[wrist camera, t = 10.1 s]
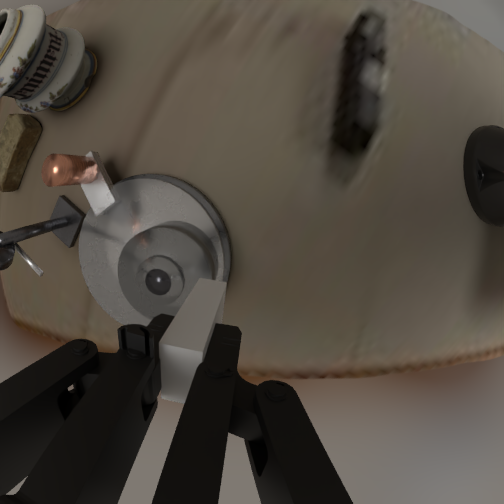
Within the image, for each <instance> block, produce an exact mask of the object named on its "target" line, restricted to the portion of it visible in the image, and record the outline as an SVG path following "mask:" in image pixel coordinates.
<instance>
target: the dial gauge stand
mask: <svg viewBox="0 0 504 504" xmlns="http://www.w3.org/2000/svg"><path fill="white" fill-rule="evenodd" d="M85 217H86V215H85V214H84V213H83V212H82V211H81V210H80V209H79V208H77V207H76V206H75V205H74V204H73V203H72V202H71V201H70V200H69V199H67V198H66V197H65V196H64V195H62V196H59V198H58V201H57V203H56V206H55V208H54V211H53V213H52V216H51V218H50V220H48V221H44V222H40V223H36V224H33V225H29V226H25V227H22V228H18V229H15V230H11V231H8V232H5V233H3V232H1V231H0V270H4V269H6V268H8V267H9V266H10V265H11V264H12V262H13V257H14V253H15V249H16V250H17V252H18V253H19V254H20V255H21V256H22V257H23V259H24V260H25V261H26V262H27V263H28V264H29V265H30V266H31V267H32V268H33V270H34V271H35V272H36V273H37V274H38V275H39V276H40V277H41V276H42V275H43V271H42V270H41V269H40V268H39V267H38V266H37V265H36V264H35V263H34V262H33V261H32V259H31V258H30V257H29V256H28V255H27V254H26V253H25V252H24V251H23V249H22V248H21V247H20V246H19V245H18V244H17V242H20V241H23V240H26V239H29V238H32V237H35V236H38V235H41V234H44V233H47V232H50V231H52V232H53V233H54V234H55V235H56V236H57V237H58V238H59V239H60V240H61V241H62V242H63V243H64V244H66V245H67V246H68V247H69V248H70V247H73V246H74V243H75V241H76V239H77V236H78V234H79V232H80V229H81V227H82V224H83V221H84V219H85ZM14 243H15V244H14Z"/></svg>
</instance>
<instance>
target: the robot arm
mask: <svg viewBox="0 0 504 504" xmlns="http://www.w3.org/2000/svg"><path fill="white" fill-rule="evenodd" d="M464 176H465V183H466V189H467V193H468V196H469V199H470V202H471V204H472V206H473V208H474V210H475V212H476V213H477V215H478V216H479V217H480V218H481V219H482V220H483V221H484V222H486V223H488V224H492V225H495V226H500V227H503V226H504V129H503V128H501V127H499V126H494V125H489V126H483V127H479V128H477V129H476V130H475V131H474V132H473V133H472V134H471V136H470V138H469V140H468V142H467V145H466V150H465V156H464ZM226 286H227V282H221V281H215V280H209V279H203V278H199V280H198V281H197V283H196V284H195V286H194V288H193V289H192V291H191V292H190V294H189V295H188V297H187V298H186V300H185V302H184V303H183V305H182V306H181V308H180V309H179V311H178V313H177V314H176V316H172V315H167V314H163V313H161V314H159V315H157V316H155V317H154V318H153V319H152V320H151V322H150V323H149V324H148V326H147V327H146V326H144V325H140V324H127V325H124V326H121V327H120V328H119V329H118V339H119V348H120V349H119V350H118V351H117V353H104V352H98V349H97V346H96V344H95V343H93V342H92V341H90V340H87V339H75V340H72V341H70V342H68V343H66V344H65V345H63V346H61V347H60V348H58V349H56V350H55V351H53V352H51V353H50V354H48V355H47V356H45V357H43V358H41V359H40V360H38V361H36V362H35V363H33V364H31V365H30V366H28V367H26V368H25V369H23V370H21V371H20V372H18V373H16V374H15V375H13V376H12V377H10V378H9V379H7V380H5V381H3V382H2V383H0V504H118V501H119V498H120V496H121V493H122V491H123V488H124V486H125V483H126V481H127V478H128V476H129V473H130V471H131V468H132V466H133V464H134V461H135V459H136V456H137V454H138V452H139V449H140V447H141V444H142V442H143V440H144V437H145V435H146V432H147V430H148V427H149V425H150V423H151V421H152V418H153V416H154V414H155V411H156V409H157V405H158V401H157V396H158V394H159V392H160V390H161V398H163V399H166V400H170V401H174V402H179V403H184V407H183V410H182V413H181V416H180V419H179V422H178V425H177V427H176V431H175V434H174V437H173V439H172V443H171V445H170V449H169V452H168V455H167V458H166V461H165V464H164V467H163V470H162V473H161V476H160V479H159V482H158V485H157V489H156V491H155V495H154V498H153V501H152V504H218V499H219V492H220V486H221V478H222V472H223V465H224V458H225V451H226V444H227V437H228V432H229V433H231V434H234V435H236V436H239V437H241V438H244V439H245V440H244V441H245V445H246V449H247V453H248V457H249V461H250V464H251V469H252V472H253V476H254V480H255V483H256V487H257V490H258V494H259V497H260V501H261V504H353V502H352V500H351V498H350V496H349V495H348V493H347V491H346V489H345V487H344V485H343V483H342V481H341V479H340V478H339V476H338V474H337V472H336V470H335V468H334V466H333V464H332V462H331V460H330V458H329V457H328V455H327V452H326V451H325V449H324V447H323V445H322V443H321V441H320V439H319V437H318V435H317V433H316V431H315V429H314V427H313V425H312V423H311V421H310V419H309V417H308V415H307V413H306V411H305V409H304V407H303V405H302V403H301V401H300V399H299V397H298V395H297V393H296V391H295V390H294V389H293V387H291V386H290V385H288V384H287V383H284V382H281V381H275V380H269V381H264V382H263V383H261V384H259V385H258V386H257V385H254V384H251V383H249V382H247V381H245V380H244V379H242V378H241V376H240V375H239V373H238V371H237V364H238V357H239V350H240V343H241V335H242V333H241V331H240V329H239V328H238V327H237V326H231V325H224V324H222V318H223V310H224V302H225V294H226ZM72 384H73V387H74V389H72V390H70V391H68V387H69V386H71V385H72ZM27 476H28V477H27ZM25 477H27V478H26V480H25V482H24V483H23V485H22V486H21V488H20V490H19V491H18V492H17V493H16V494H14V495H6V493H8V492H9V491H10V490H11V489H13V488H14V487H15V486H16V485H17V484H18V483H20V482H21V481H22V480H23V479H24V478H25Z"/></svg>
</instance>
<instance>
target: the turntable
mask: <svg viewBox="0 0 504 504" xmlns="http://www.w3.org/2000/svg"><path fill="white" fill-rule="evenodd" d="M42 179H43V181H44V183H45V184H46V185H47V186H50V187H52V186H64V185H78V184H81V186H82V189H83V191H84V193H85V195H86V197H87V199H88V201H89V203H90V205H91V207H90V209H89V211H88V213H87V214H86V217H85V219H84V221H83V224H82V228H81V231H80V238H79V260H80V265H81V270H82V273H83V276H84V279H85V282H86V284H87V286H88V288H89V290H90V292H91V294H92V295H93V297H94V298H95V300H96V301H97V302H98V304H99V305H100V306H101V307H102V308H103V309H104V310H105V311H106V312H107V313H108V314H109V315H110V316H111V317H113V318H114V319H115V320H117V321H118V322H120V323H121V324H123V325H127V324H140V325H144V326H146V327H147V326H148V324H149V323H150V322H151V320H150V319H148V318H146V317H145V316H143V315H142V314H140V313H139V312H138V311H136V310H135V309H134V308H133V307H132V306H131V305H130V303H129V302H128V301H127V299H126V298H125V296H124V294H123V292H122V290H121V287H120V284H119V280H118V261H119V257H120V254H121V252H122V249H123V248H124V246H125V245H126V243H127V242H128V241H129V240H130V239H131V238H132V237H133V236H135V235H136V234H138V233H140V232H142V231H144V230H147V229H149V228H151V227H153V226H156V225H158V224H160V223H163V222H167V221H174V220H175V221H183V222H187V223H190V224H192V225H194V226H196V227H198V228H199V229H201V230H202V231H203V232H204V233H205V234H206V235H207V236H208V237H209V238H210V240H211V241H212V243H213V245H214V247H215V249H216V252H217V256H218V263H219V267H218V275H217V278H216V281H221V282H222V281H223V276H224V269H225V256H224V248H223V243H222V239H221V236H220V233H219V230H218V228H217V226H216V224H215V222H214V220H213V218H212V217H211V215H210V214H209V212H208V211H207V209H206V208H205V207H204V206H203V205H202V204H201V202H200V201H199V200H197V199H196V198H195V197H194V196H193V195H192V194H190V193H189V192H187V191H186V190H184V189H183V188H181V187H179V186H177V185H175V184H173V183H170V182H167V181H164V180H158V179H132V180H127V181H124V182H121V183H119V184H117V185H115V186H114V185H113V183H112V181H111V179H110V177H109V175H108V173H107V171H106V169H105V167H104V165H103V163H102V161H101V159H100V156H99V154H98V152H93V151H90V152H89V153H88V154H87V155H86V156H76V155H65V154H51V155H49V156H48V157H47V158H46V159H45V161H44V163H43V166H42Z"/></svg>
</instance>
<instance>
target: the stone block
mask: <svg viewBox="0 0 504 504" xmlns="http://www.w3.org/2000/svg"><path fill="white" fill-rule="evenodd" d="M41 131H42V128H41V126H40V123H39V122H37V121H36V119H34V118H32V117H31V116H30V115H29V114H9V115H8V117H7V120H6V123H5V125H4V127H3V129H2V130H1V133H0V191H2V192H11V191H15V190H16V189H18V186H19V184H20V181H21V178H22V176H23V173H24V170H25V168H26V165H27V162H28V159H29V158H30V156H31V153H32V151H33V149H34V147H35V145H36V143H37V141H38V138H39V136H40V134H41Z"/></svg>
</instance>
